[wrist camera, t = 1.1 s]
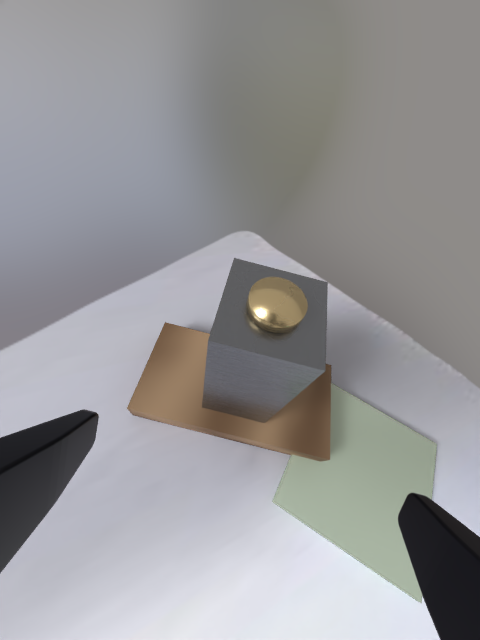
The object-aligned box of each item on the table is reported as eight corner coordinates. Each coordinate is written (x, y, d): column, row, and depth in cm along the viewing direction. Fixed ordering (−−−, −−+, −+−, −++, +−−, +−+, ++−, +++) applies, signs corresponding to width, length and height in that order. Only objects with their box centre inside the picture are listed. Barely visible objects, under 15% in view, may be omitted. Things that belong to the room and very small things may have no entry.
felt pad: (433, 444, 21) (436, 444, 21) (416, 600, 16) (421, 603, 15) (321, 379, 23) (323, 378, 22) (272, 502, 17) (273, 502, 17)
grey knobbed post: (273, 364, 20) (333, 273, 12) (264, 423, 18) (332, 364, 9) (217, 350, 20) (235, 248, 12) (201, 407, 18) (208, 332, 9)
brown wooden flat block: (321, 373, 23) (331, 365, 21) (318, 461, 19) (330, 459, 17) (167, 334, 23) (165, 322, 21) (132, 415, 19) (126, 408, 17)
